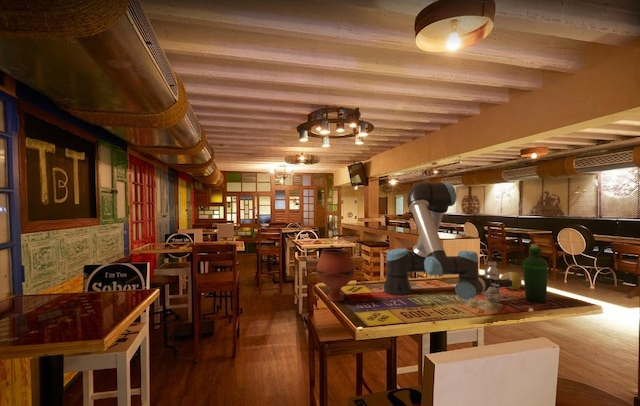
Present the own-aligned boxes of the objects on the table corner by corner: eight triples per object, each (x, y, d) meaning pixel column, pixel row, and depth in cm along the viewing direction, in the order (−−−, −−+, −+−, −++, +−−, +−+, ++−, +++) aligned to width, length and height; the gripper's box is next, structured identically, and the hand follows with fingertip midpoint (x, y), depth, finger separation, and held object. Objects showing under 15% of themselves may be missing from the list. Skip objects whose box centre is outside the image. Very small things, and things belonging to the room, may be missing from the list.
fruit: (512, 286, 185) (511, 269, 185) (526, 291, 174) (526, 273, 174) (496, 287, 183) (496, 270, 184) (509, 292, 173) (509, 274, 173)
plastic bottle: (502, 305, 150) (502, 263, 150) (487, 304, 151) (486, 262, 151) (497, 301, 156) (497, 260, 156) (483, 300, 157) (482, 260, 158)
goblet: (362, 300, 157) (361, 251, 157) (329, 307, 147) (329, 253, 148) (340, 292, 173) (340, 247, 174) (310, 297, 164) (309, 249, 164)
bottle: (546, 299, 159) (545, 244, 160) (551, 304, 150) (550, 246, 150) (521, 296, 164) (520, 243, 164) (524, 302, 154) (524, 245, 155)
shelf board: (460, 304, 151) (460, 297, 151) (467, 300, 157) (467, 293, 157) (496, 312, 139) (496, 304, 139) (503, 307, 146) (503, 300, 146)
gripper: (449, 288, 147) (467, 280, 162) (509, 299, 129) (523, 289, 144) (449, 272, 148) (466, 266, 162) (508, 281, 130) (522, 273, 144)
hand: (493, 277), depth 153 cm, fingers open, 13 cm apart
